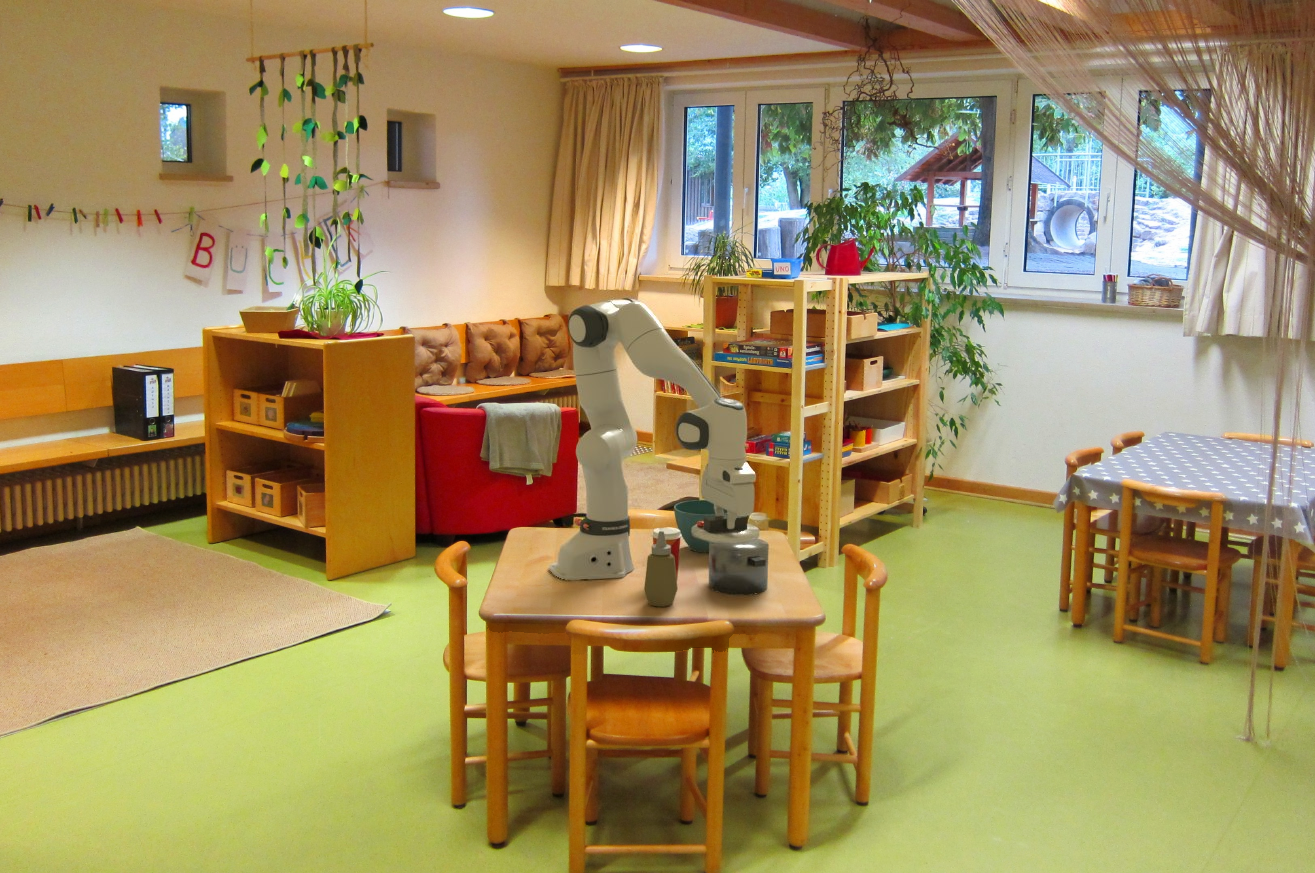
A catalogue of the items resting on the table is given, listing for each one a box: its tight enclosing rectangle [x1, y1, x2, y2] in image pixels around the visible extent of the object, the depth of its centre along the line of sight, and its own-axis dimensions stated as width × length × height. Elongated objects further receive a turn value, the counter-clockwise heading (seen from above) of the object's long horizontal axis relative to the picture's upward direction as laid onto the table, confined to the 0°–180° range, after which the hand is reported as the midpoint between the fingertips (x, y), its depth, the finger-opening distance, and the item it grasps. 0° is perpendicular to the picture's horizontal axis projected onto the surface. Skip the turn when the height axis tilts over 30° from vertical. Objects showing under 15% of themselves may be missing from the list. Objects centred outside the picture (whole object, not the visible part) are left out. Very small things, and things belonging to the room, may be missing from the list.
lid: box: [692, 515, 760, 544], centre depth 274 cm, size 16×16×4 cm
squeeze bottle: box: [643, 531, 678, 607], centre depth 280 cm, size 8×8×18 cm
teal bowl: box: [673, 499, 727, 554], centre depth 328 cm, size 18×18×12 cm
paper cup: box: [651, 526, 683, 579], centre depth 296 cm, size 8×8×14 cm
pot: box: [708, 538, 770, 596], centre depth 295 cm, size 15×22×11 cm
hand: (725, 525), depth 274 cm, fingers closed on lid, 3 cm apart
